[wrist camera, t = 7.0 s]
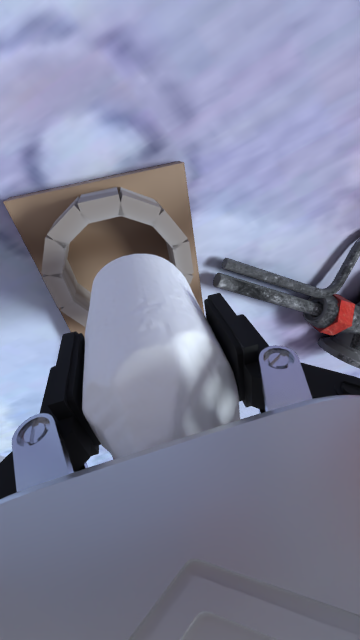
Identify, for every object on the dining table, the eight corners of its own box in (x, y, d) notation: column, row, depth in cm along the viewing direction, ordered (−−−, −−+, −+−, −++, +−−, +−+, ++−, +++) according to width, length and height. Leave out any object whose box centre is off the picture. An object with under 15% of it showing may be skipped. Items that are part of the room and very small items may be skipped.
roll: (359, 496, 7) (218, 588, 8) (207, 283, 16) (158, 349, 18) (151, 468, 4) (11, 615, 6) (118, 230, 13) (71, 315, 15)
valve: (426, 248, 32) (358, 353, 37) (248, 159, 23) (190, 312, 28) (492, 260, 27) (402, 381, 32) (292, 148, 18) (210, 341, 23)
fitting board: (9, 197, 18) (-14, 212, 15) (179, 161, 19) (196, 166, 16) (105, 387, 30) (105, 421, 26) (207, 357, 31) (220, 386, 27)
